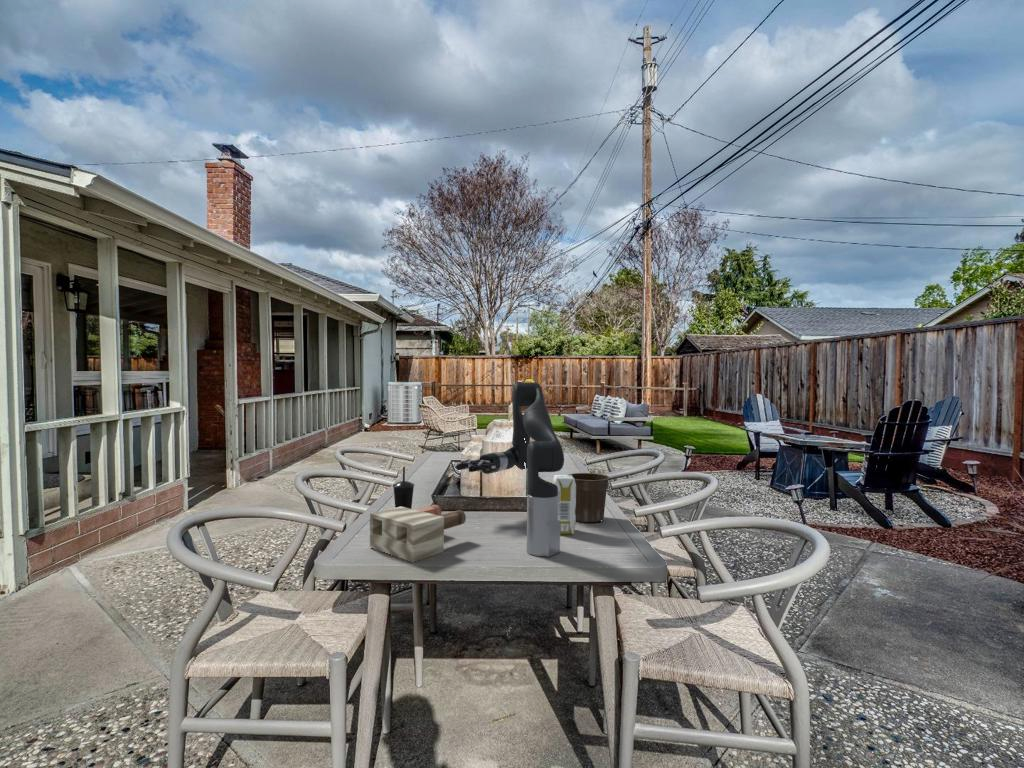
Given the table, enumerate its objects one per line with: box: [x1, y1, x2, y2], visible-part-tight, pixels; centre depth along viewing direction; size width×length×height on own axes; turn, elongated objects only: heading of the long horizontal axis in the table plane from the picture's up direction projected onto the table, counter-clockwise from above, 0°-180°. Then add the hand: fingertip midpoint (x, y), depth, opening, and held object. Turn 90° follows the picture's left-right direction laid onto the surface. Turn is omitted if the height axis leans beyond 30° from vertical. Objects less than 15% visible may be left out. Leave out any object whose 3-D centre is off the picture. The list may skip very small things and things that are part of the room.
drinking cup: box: [392, 466, 415, 509], centre depth 184 cm, size 8×8×20 cm
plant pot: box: [567, 472, 611, 523], centre depth 193 cm, size 16×16×16 cm
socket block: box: [369, 507, 445, 563], centre depth 154 cm, size 20×12×10 cm, turn 52°
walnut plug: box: [440, 509, 467, 531], centre depth 160 cm, size 5×16×5 cm, turn 142°
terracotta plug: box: [416, 504, 442, 516], centre depth 166 cm, size 5×16×5 cm, turn 142°
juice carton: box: [552, 474, 577, 535], centre depth 176 cm, size 8×9×19 cm
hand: (463, 468), depth 183 cm, fingers open, 5 cm apart
